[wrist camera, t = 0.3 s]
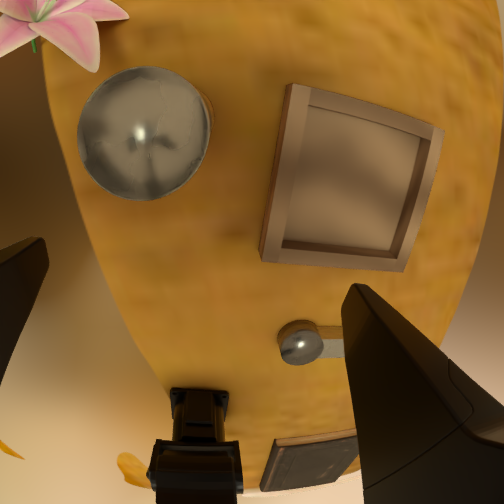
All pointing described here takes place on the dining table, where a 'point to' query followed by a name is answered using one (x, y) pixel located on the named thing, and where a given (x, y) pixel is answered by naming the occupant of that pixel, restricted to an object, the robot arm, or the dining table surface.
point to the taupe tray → (347, 183)
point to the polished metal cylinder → (144, 133)
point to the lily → (58, 26)
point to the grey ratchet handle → (309, 342)
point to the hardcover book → (309, 460)
